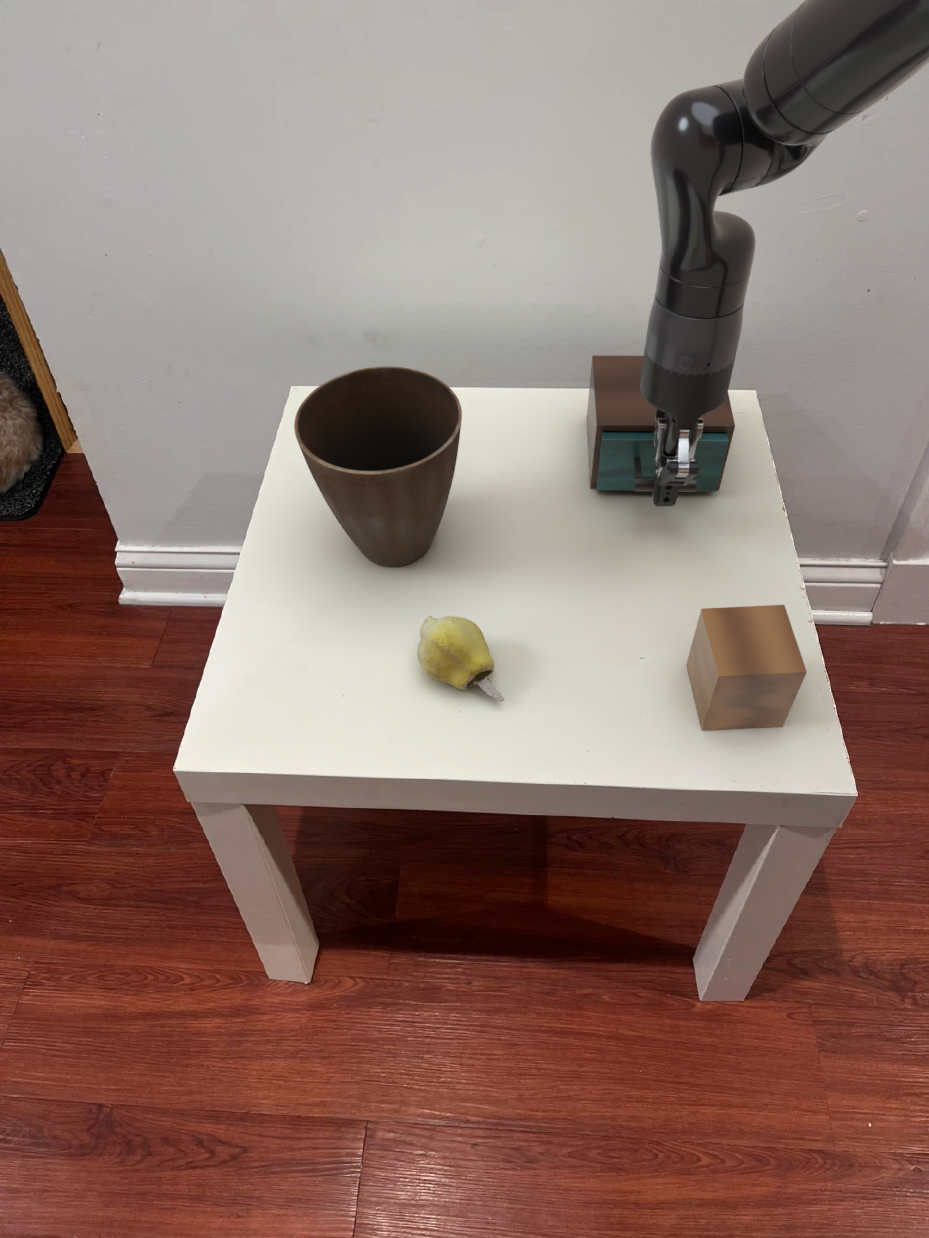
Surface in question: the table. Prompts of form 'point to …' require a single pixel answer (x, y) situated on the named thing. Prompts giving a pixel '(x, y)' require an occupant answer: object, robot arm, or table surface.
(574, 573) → the table surface
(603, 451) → the drawer
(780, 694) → the cube
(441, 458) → the flower pot
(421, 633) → the fruit
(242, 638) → the table surface
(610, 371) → the cabinet
